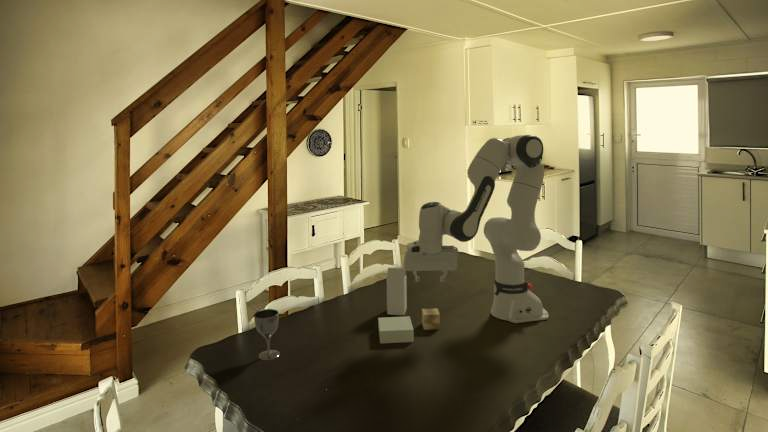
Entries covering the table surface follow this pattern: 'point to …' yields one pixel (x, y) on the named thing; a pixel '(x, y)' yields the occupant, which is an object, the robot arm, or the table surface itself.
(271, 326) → the wine glass
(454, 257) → the robot arm
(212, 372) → the table surface
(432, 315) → the oak cube
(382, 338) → the sage block
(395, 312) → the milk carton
